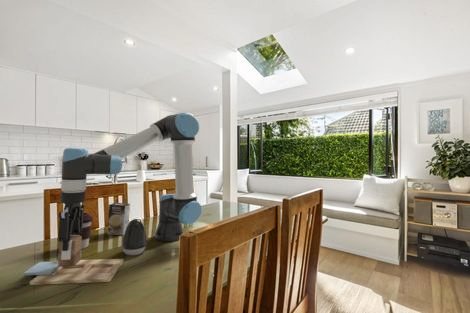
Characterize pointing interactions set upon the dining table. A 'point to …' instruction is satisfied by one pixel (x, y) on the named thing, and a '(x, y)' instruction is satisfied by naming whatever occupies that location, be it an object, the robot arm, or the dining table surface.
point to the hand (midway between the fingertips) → (70, 255)
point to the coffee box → (118, 218)
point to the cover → (42, 268)
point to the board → (82, 272)
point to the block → (74, 252)
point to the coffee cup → (86, 230)
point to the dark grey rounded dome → (134, 238)
